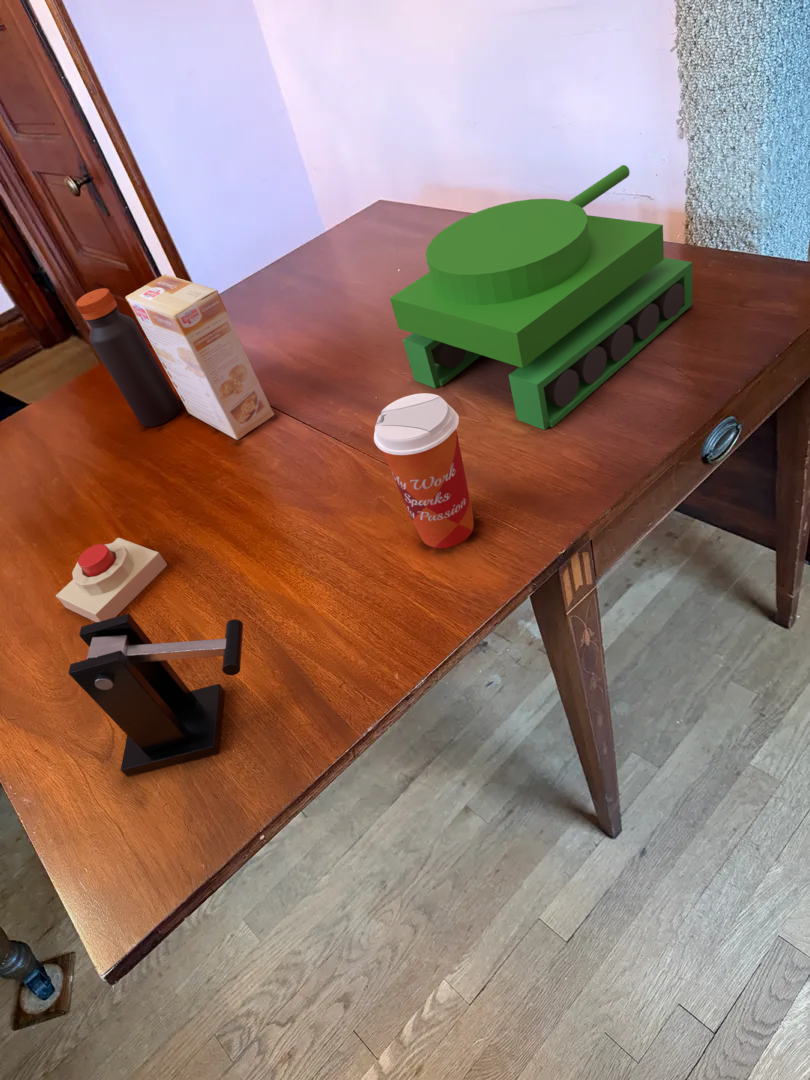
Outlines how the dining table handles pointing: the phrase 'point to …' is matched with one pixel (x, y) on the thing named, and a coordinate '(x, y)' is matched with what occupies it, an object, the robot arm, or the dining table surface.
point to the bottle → (128, 359)
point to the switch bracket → (149, 702)
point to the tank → (542, 299)
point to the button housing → (112, 582)
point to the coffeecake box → (201, 353)
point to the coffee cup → (427, 466)
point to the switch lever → (177, 648)
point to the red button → (96, 560)
